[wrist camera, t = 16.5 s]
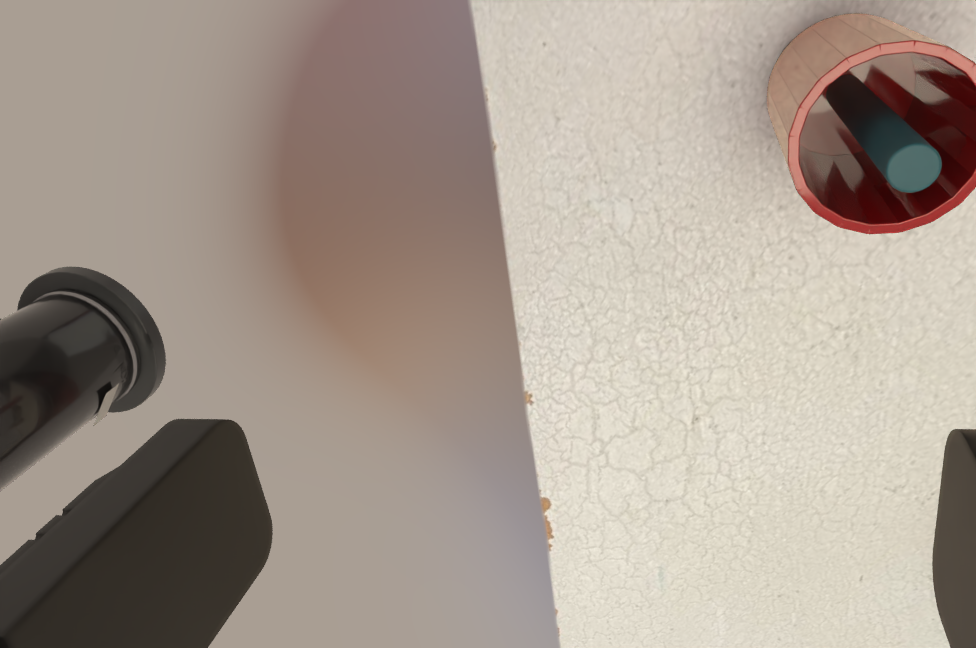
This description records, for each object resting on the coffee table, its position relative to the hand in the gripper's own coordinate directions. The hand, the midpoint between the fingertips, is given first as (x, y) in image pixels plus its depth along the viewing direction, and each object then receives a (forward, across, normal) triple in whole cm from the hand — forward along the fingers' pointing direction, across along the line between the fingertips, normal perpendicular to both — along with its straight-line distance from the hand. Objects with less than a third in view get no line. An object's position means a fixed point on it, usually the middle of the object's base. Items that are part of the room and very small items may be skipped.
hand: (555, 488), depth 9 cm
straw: (+34, -8, +2) cm, 35 cm away
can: (+34, -8, +2) cm, 35 cm away
